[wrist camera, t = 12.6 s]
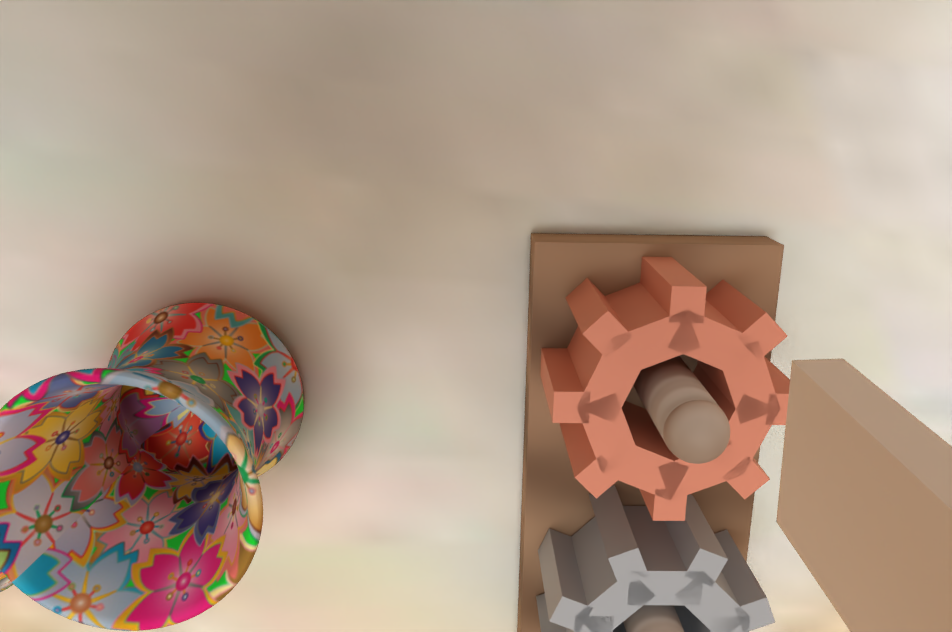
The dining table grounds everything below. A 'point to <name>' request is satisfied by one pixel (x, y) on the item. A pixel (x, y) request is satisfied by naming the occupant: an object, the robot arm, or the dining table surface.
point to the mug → (146, 469)
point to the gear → (646, 573)
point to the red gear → (651, 342)
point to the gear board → (656, 389)
